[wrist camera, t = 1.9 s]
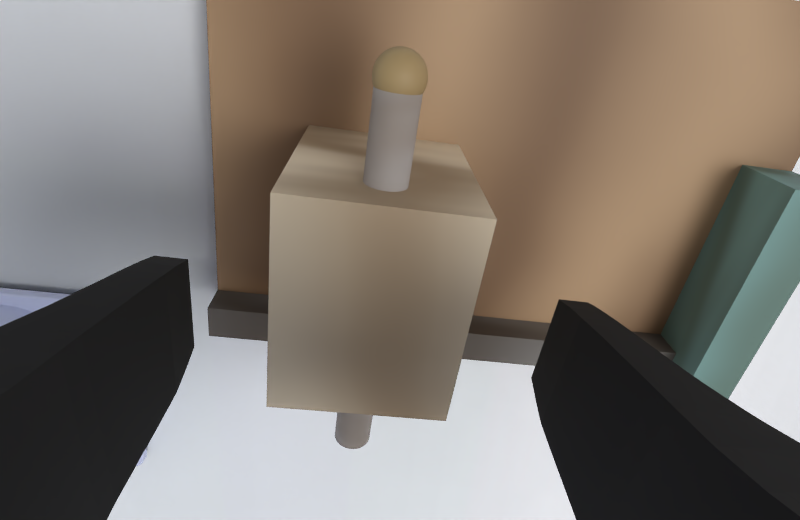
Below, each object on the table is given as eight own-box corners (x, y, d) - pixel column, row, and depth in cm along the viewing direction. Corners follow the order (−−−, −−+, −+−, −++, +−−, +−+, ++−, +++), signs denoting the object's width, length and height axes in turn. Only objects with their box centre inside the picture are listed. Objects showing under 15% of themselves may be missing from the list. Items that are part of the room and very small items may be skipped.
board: (231, 293, 17) (198, 360, 14) (222, -91, 12) (165, -122, 9) (666, 337, 18) (724, 405, 15) (826, 12, 13) (960, 17, 10)
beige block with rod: (297, 339, 16) (265, 468, 12) (314, 19, 12) (273, 33, 7) (417, 350, 16) (430, 479, 12) (478, 44, 12) (533, 72, 8)
